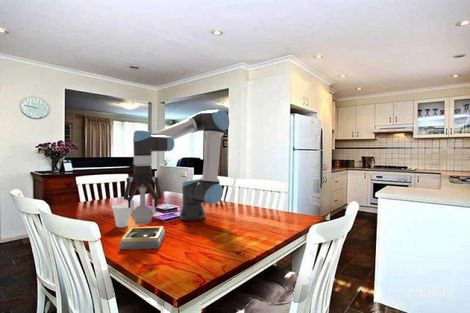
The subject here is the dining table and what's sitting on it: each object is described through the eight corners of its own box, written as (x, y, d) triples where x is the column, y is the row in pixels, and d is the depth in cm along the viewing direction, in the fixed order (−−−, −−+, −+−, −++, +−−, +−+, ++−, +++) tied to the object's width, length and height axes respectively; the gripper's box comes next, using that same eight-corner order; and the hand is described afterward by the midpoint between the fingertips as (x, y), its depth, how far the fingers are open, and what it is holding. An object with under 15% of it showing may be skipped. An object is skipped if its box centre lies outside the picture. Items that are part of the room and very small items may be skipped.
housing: (164, 235, 127) (164, 226, 127) (158, 248, 111) (158, 237, 111) (130, 236, 125) (130, 227, 125) (119, 249, 110) (119, 239, 109)
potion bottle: (157, 220, 121) (156, 181, 120) (144, 225, 112) (144, 184, 111) (141, 218, 123) (141, 180, 123) (128, 223, 115) (127, 183, 114)
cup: (125, 229, 136) (124, 208, 135) (108, 228, 138) (107, 207, 137) (135, 223, 145) (135, 204, 145) (120, 222, 147) (119, 203, 147)
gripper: (168, 164, 122) (168, 211, 123) (120, 164, 119) (121, 213, 120) (166, 165, 114) (166, 216, 115) (114, 165, 112) (115, 217, 113)
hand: (143, 214), depth 118 cm, fingers closed on potion bottle, 9 cm apart
